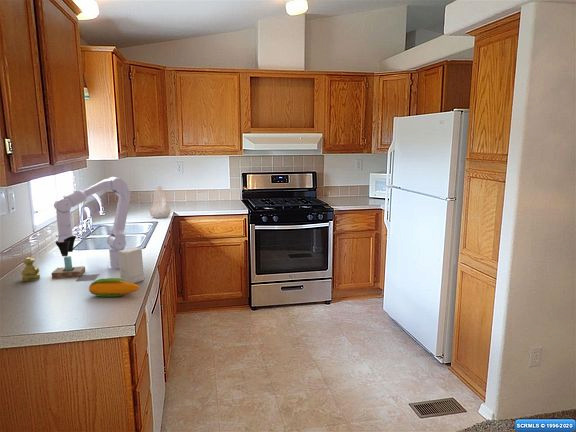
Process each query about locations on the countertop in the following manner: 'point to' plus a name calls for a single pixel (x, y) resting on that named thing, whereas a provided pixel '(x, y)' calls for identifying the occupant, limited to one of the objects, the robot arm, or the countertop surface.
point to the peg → (68, 263)
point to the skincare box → (131, 265)
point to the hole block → (68, 272)
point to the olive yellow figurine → (29, 271)
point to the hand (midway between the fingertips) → (67, 253)
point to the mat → (88, 277)
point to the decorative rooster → (159, 204)
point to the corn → (112, 287)
